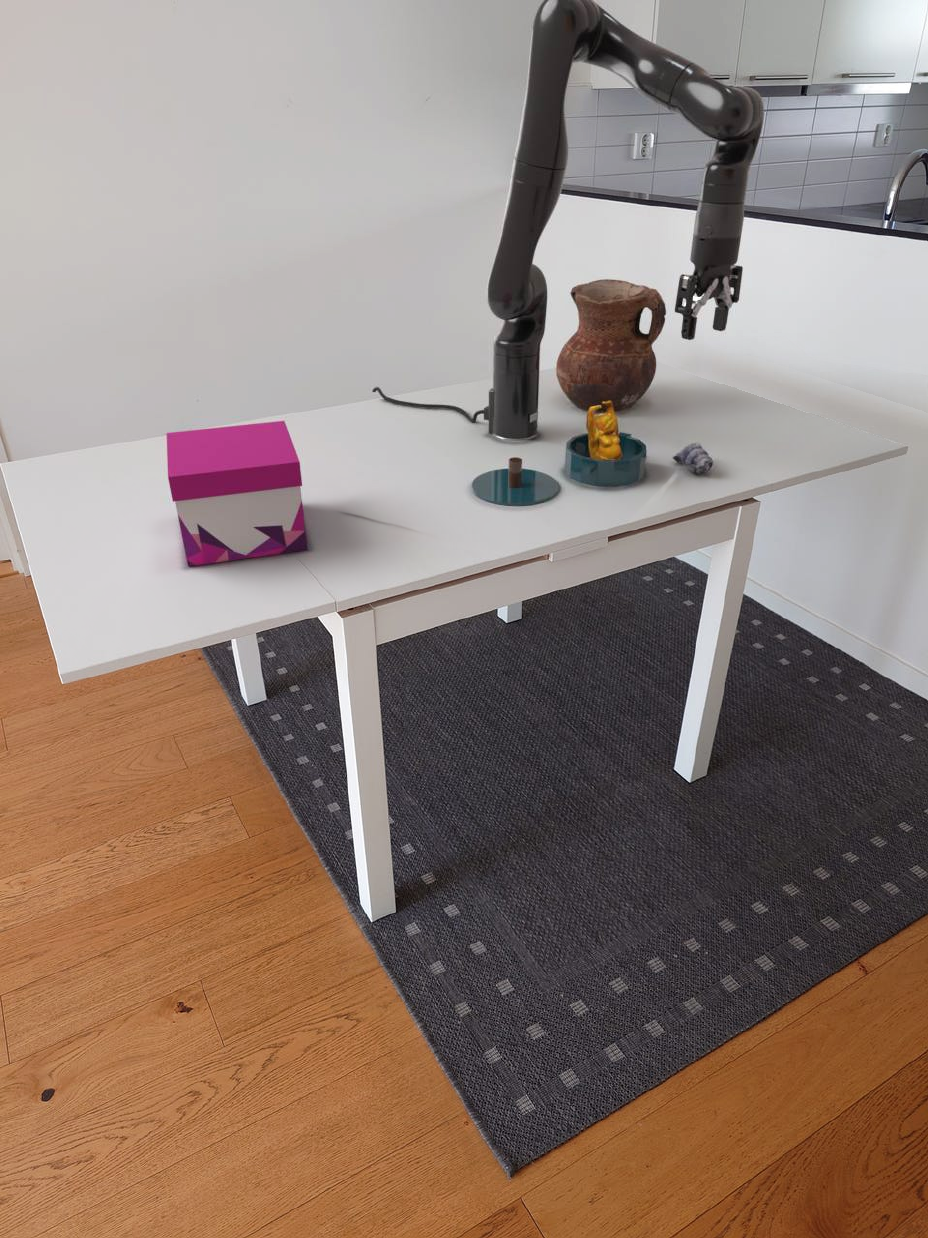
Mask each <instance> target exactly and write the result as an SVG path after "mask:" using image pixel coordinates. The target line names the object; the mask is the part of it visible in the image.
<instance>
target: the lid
mask: <svg viewBox="0 0 928 1238" xmlns="http://www.w3.org/2000/svg"><path fill="white" fill-rule="evenodd" d="M471 492H472V493H473V494H474V495H475V496H476V497H477V498H479V499H481V500H483V501H486V502H488V503H492V504H495V505H500V506H508V507H509V506H510V507H511V506H512V507H513V506H514V507H520V506H521V507H522V506H531V505H537V504H541V503H544V502H547V501H549V500H551V499H552V498H554V497H555V496H556V495H557V494H558V492H559V483H558V481H557V480H556V479H555V478H554V477H553V476H551V475H549V474H548V473H545V472H543V471H538V470H534V469H528V468H523V459H522V458H520V457H514V456H513V457H510V458H509V459H508V468H498V469H493V470H490V471H489V470H488V471H486V472H483V473H481V474H479V475H478V476H476V477H475V478H474V479H473V480H472V481H471Z"/></svg>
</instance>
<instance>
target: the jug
mask: <svg viewBox="0 0 928 1238" xmlns="http://www.w3.org/2000/svg"><path fill="white" fill-rule="evenodd" d="M569 293H570V296H571V298H572V300H573V303H574V304H575V307H576V309H577V315H578V326H577V330H576V332H574V333H573V335H571V337H570V338H569V339H568V340H567V341H566V343H564V345H563V346H562V348H561V350H560V352H559V355H558V357H557V360H556V367H555V372H556V378H557V381H558V384H559V387H560V389H561V390H562V393H563V394H564V395H565V396H566V398H567V399H568V400H569V401H570V402H571V403H572V404H573V405H574V406H575V407H577V408H578V409H581V410H585V411H588V410H589V408H590V407H591V406H597V405H601V408H600V409H598V410H596V411H595V412H598V413H599V412H601V413H606V411H607V406H604V405H602V402H607V401H612V403H613V408H614V412H620V411H621V412H622V411H624V410H628V409H631V408H632V407H633V406H634V405H635V404H636V403H637V402H638V401H639V400H640V399H641V398H642V397H643V396H644V395H645V394H646V392H647V391H648V390H649V388H650V387H651V385H652V382H653V381H654V378H655V375H656V371H657V358H656V353H655V352H654V349H653V344H654V343H655V341H657V339H658V337H659V336H660V334H662V331H663V328H664V326H665V323H666V317H665V316H666V315H667V309H666V303H665V301H664V299H663V297H662V295H661V293H659V291H658V290H657V289H656V288H651V287H649V286H647V285H643V284H642V285H640V284H639V285H638V284H636V283H632V282H629V281H628V280H621V279H610V278H609V279H607V278H605V279H597V280H592V281H589V282H587V283H581V284H577V285H576V286H573V287H572V288H571V291H570V292H569ZM646 308H647V309H648V310H649V311H650V312H651V321H650V326H649V330H648V333H644V332H643V331H641V329H640V325H641V319H642V314H643V312H644V309H646Z"/></svg>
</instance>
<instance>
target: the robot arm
mask: <svg viewBox="0 0 928 1238" xmlns="http://www.w3.org/2000/svg"><path fill="white" fill-rule="evenodd" d="M530 37H531V38H530V45H529V55H528V57H529V58H528V66H527V67H528V68H527V80H526V87H525V95H524V102H523V107H522V114H521V119H520V125H519V131H518V138H517V142H516V147H515V151H514V157H513V161H512V167H511V172H510V182H509V186H508V187H509V188H508V192H507V193H508V194H507V199H506V205H505V209H504V215H503V220H502V226H501V232H500V236H499V240H498V245H497V248H496V252H495V255H494V258H493V262H492V266H491V269H490V274H489V276H488V280H487V285H486V300H487V304H488V307H489V310H490V311H491V312H492V314H493V316H495V317H496V318H498V319H500V320H502V322H501V325H500V327H499V329H498V331H497V332H496V334H495V335H494V337H493V344H492V356H493V357H492V388H490V389H488V390H489V391H488V405H487V406H485V407H484V408H483V409H480V410H477V411H475V412H474V413H473V416H472V417H471V416H469V414H468V413H467V412H466V411H465V410H464V409H463V408H461V407H458V406H456V405H449V404H431V403H430V404H429V403H417V402H411V401H403V400H399V399H395V398H391V397H388V396H386V395H385V394H384V393H383V391H382V389H381V388H380V387H379V386H376V387H374V388H373V389H372V391H371V392H372V393H377V392H378V394H379V395H380V397H381V398H382V399H383V400H385V401H388V402H391V403H394V404H398V405H401V406H402V405H403V406H409V407H417V408H425V409H427V408H431V409H448V410H454V411H457V412H459V413H460V414H462V415H463V416H464V417H465V418H466V419H467V420H468V421H469V422H471V423H475V422H476V421H477V418H478V416H479V415H483V420H484V421H488V434H490V435H492V436H494V437H495V438H497V439H499V440H502V441H508V442H509V441H511V442H521V441H528V440H529V441H532V440H535V439H536V438H537V437H538V435H539V434H538V433H539V432H538V431H539V430H538V427H539V425H538V420H539V394H540V393H539V390H540V366H541V365H540V363H541V344H542V341H543V339H544V336H545V331H546V321H547V309H548V284H547V279H546V277H545V274H544V273H543V272H544V271H542V269H541V268H540V267H538V265H536V264H534V263H533V262H534V258H535V255H536V249H537V246H538V243H539V241H540V239H541V237H542V235H543V232H544V230H545V229H546V228H547V227H546V226H547V224H548V223H549V221H550V219H551V217H552V215H553V214H554V211H555V209H556V206H557V204H558V202H559V199H560V196H561V193H562V189H563V184H564V180H565V175H566V171H567V166H568V159H569V140H568V131H567V124H566V123H567V122H566V115H565V103H566V95H567V88H568V83H569V79H570V74H571V70H572V66H573V64H575V63H584V64H588V65H592V66H596V67H599V68H602V69H605V70H607V71H609V72H611V73H613V74H615V75H616V76H618V77H620V78H621V79H623V80H624V81H625V82H626V83H627V84H629V86H630V87H632V88H633V90H635V91H636V92H637V93H639V95H641V96H643V97H644V98H646V99H647V100H649V101H650V102H652V103H653V104H656V105H658V106H659V107H661V108H663V109H665V110H667V111H669V112H670V113H672V114H674V115H677V116H680V117H681V118H682V119H683V120H685V122H687V123H688V124H689V125H691V126H692V127H693V128H694V129H696V130H697V131H698V132H700V133H701V134H702V135H704V136H706V137H708V138H710V139H712V140H714V141H716V142H715V146H714V151H713V154H712V157H711V158H710V159H709V160H708V161H707V163H706V164H705V166H704V168H703V171H702V176H701V182H700V191H699V199H698V200H699V201H698V204H697V209H696V213H695V217H694V224H693V225H694V227H693V233H692V240H691V241H692V242H691V249H690V258H689V260H690V262H691V263H692V264H693V265H694V269H693V273H692V274H683V273H682V274H681V275H680V276H679V279H678V281H679V282H678V286H677V293H676V299H675V304H674V313H676V314H680V315H682V324H681V332H680V334H681V338H682V339H684V340H688V341H691V340H694V339H695V337H696V329H697V322H698V314H699V312H700V310H701V308H702V307H703V306H705V305H706V304H707V302H708V300H711V299H714V302H715V308H714V315H713V322H712V329H713V330H714V331H716V332H717V331H718V332H724V331H725V330H726V329H727V324H728V317H729V313H730V309H731V308H732V306H733V304H734V303H735V304H737V303H738V302H739V300H740V294H741V287H742V279H743V270H744V268H743V266H742V265H736V264H737V263H738V261H739V260H738V259H739V254H740V247H741V239H742V233H743V227H744V219H745V204H746V194H747V189H748V184H749V183H748V181H749V172H750V169H751V166H752V163H753V161H754V158H755V154H756V152H757V148H758V145H759V141H760V139H761V134H762V130H763V126H764V125H763V124H764V121H765V120H764V119H765V104H764V101H763V98H762V96H761V95H760V93H759V92H758V91H757V90H755V89H754V88H751V87H748V86H740V87H732V86H729V85H727V84H724V83H723V82H720V81H719V80H716V79H715V78H713V77H711V76H710V74H709V72H708V71H707V70H706V69H705V68H704V67H702V66H701V65H699V64H697V63H696V62H693V61H691V60H690V59H688V58H686V57H684V56H682V55H680V54H678V53H675V52H673V51H672V50H670V49H667V48H665V47H663V46H661V45H659V44H657V43H655V42H653V41H651V40H649V39H646V38H645V37H643V36H641V35H639V34H637V33H636V32H635V31H633V30H631V29H630V28H628V27H627V26H625V25H624V24H622V23H621V22H620V21H619V20H617V19H616V18H615V17H614V16H613V15H611V14H610V13H609V12H608V11H606V10H605V9H604V8H603V7H602V6H600V5H599V4H598V3H597V2H596V1H594V0H543V1H542V2H541V4H540V5H539V6H538V9H537V11H536V13H535V16H534V19H533V24H532V28H531V36H530ZM732 289H733V292H732V291H731V290H732ZM695 295H696V296H695ZM684 300H685V302H684V305H683V301H684Z"/></svg>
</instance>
